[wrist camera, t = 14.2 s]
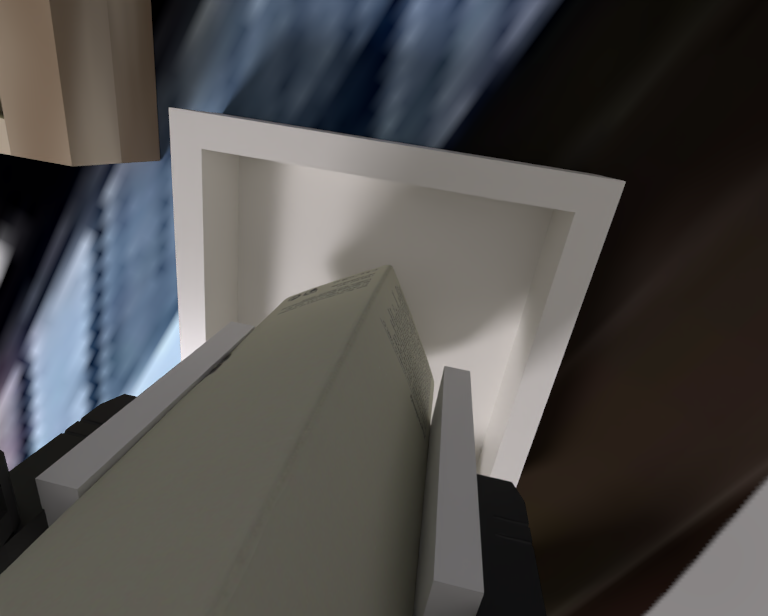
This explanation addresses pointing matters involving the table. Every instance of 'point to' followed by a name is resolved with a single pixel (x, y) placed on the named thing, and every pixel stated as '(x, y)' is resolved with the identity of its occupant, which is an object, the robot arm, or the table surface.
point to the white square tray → (394, 250)
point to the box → (262, 480)
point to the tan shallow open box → (78, 81)
